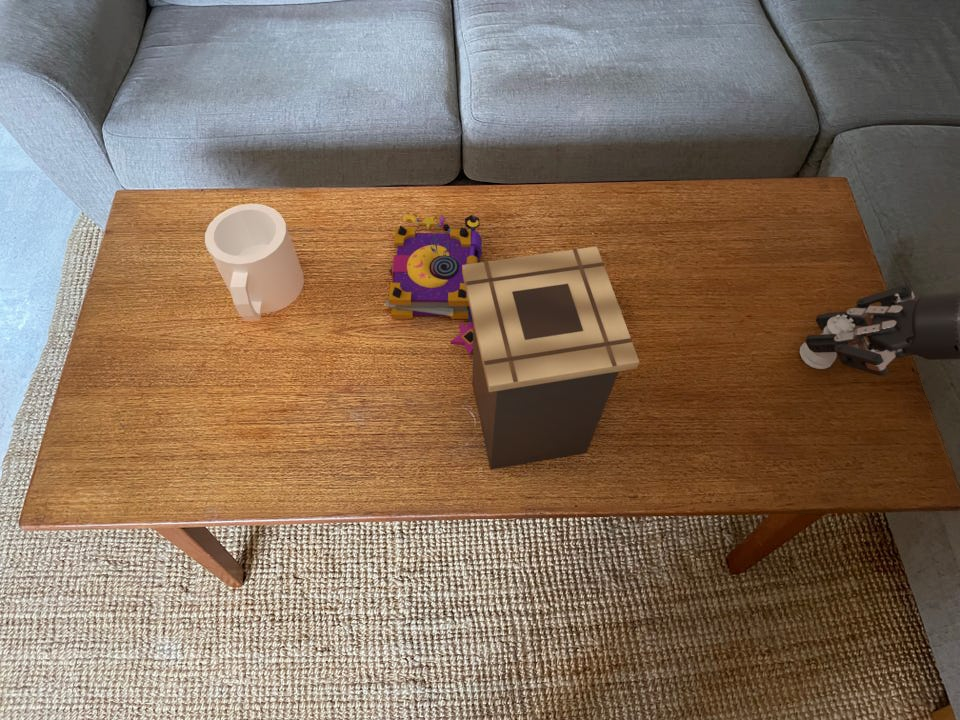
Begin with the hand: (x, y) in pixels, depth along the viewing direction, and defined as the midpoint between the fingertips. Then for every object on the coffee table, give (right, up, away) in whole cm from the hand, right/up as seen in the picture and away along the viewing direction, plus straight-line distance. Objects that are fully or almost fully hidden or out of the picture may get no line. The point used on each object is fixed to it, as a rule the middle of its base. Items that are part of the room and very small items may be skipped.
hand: (813, 333), depth 84 cm
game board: (-37, +1, -21) cm, 43 cm away
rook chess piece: (+2, -3, +3) cm, 5 cm away
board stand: (-37, -11, -2) cm, 39 cm away
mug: (-74, +6, +7) cm, 74 cm away
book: (-49, +6, +8) cm, 50 cm away
